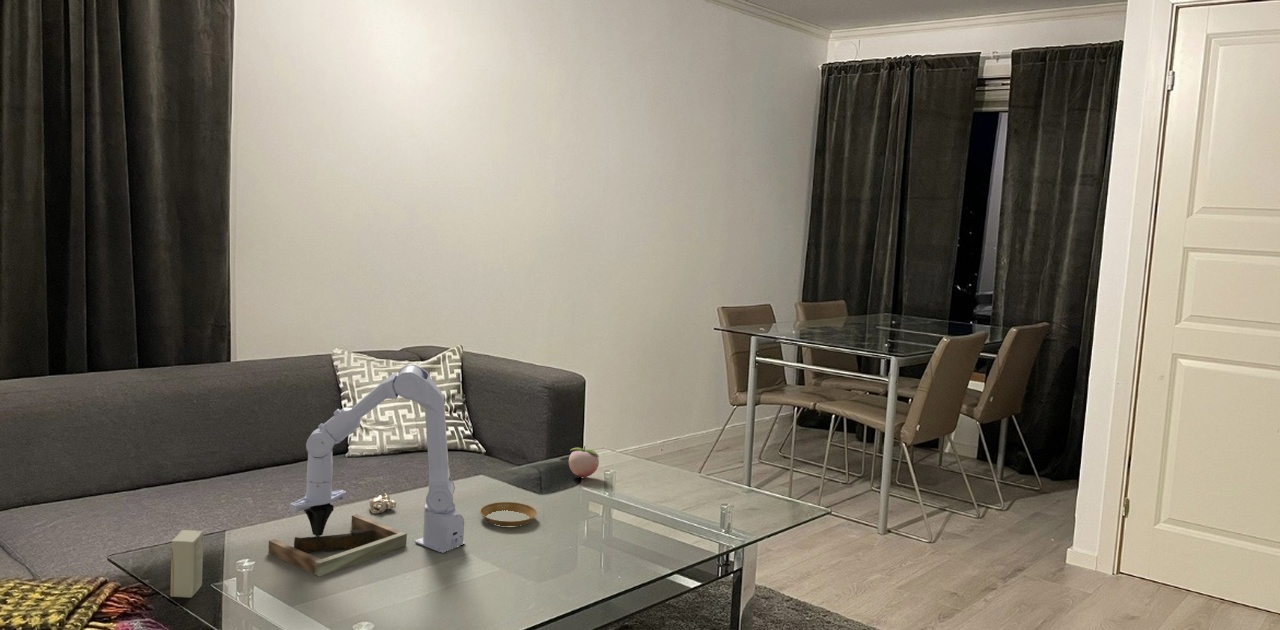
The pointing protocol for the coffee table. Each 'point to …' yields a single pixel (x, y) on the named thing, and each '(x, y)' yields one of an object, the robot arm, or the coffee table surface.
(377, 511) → the ornament
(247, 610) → the coffee table surface
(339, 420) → the robot arm
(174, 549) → the skincare box
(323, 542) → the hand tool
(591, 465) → the decorative fruit
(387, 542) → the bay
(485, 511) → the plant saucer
